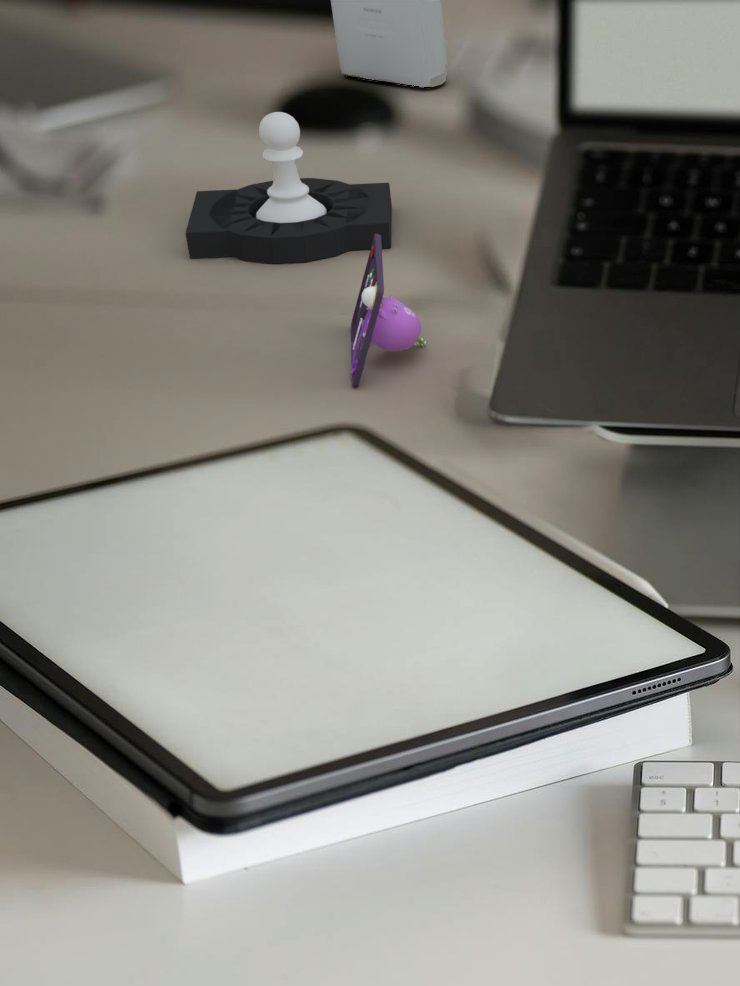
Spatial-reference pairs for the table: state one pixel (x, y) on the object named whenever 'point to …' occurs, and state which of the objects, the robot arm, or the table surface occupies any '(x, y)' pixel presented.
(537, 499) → the table surface
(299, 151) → the chess pawn
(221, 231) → the socket pad
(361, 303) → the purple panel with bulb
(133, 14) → the table surface
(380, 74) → the photo printer
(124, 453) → the table surface
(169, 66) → the table surface
